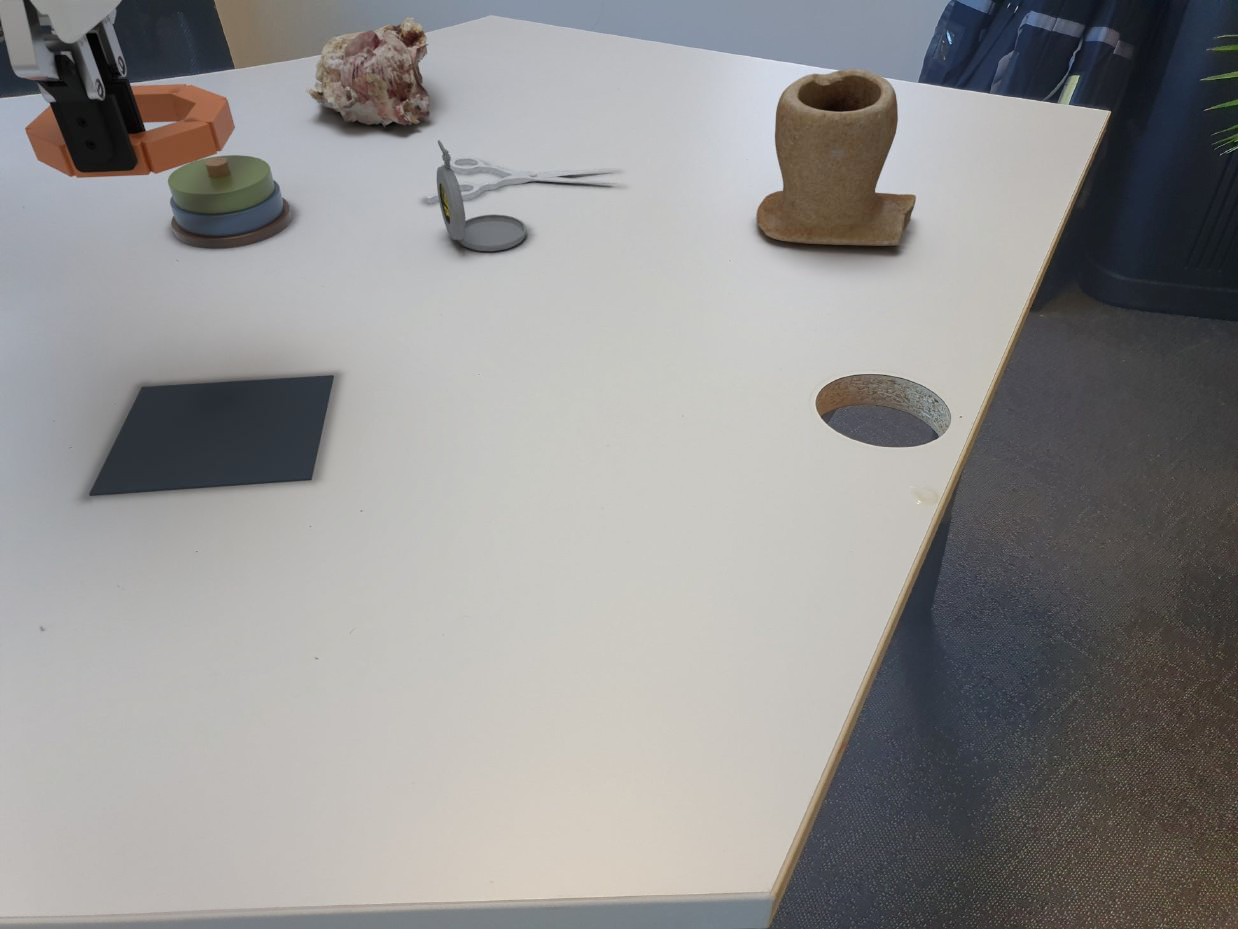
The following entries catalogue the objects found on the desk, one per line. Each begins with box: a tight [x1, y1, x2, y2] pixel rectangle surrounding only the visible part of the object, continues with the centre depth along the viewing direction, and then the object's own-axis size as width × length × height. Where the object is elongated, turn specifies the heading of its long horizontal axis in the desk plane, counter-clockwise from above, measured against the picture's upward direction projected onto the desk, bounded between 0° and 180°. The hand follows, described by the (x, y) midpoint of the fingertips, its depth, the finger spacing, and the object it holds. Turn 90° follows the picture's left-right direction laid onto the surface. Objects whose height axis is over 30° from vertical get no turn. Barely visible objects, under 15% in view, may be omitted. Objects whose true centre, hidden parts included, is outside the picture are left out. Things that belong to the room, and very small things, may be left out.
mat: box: [88, 374, 335, 497], centre depth 63 cm, size 14×12×1 cm
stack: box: [167, 154, 293, 250], centre depth 87 cm, size 11×11×6 cm
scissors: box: [426, 156, 617, 204], centre depth 96 cm, size 11×1×20 cm
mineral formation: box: [305, 17, 431, 128], centre depth 111 cm, size 23×16×10 cm
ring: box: [24, 83, 236, 179], centre depth 55 cm, size 11×11×2 cm
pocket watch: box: [436, 139, 527, 252], centre depth 83 cm, size 8×8×10 cm
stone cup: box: [755, 68, 917, 247], centre depth 82 cm, size 15×12×15 cm
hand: (114, 158), depth 52 cm, fingers closed on ring, 2 cm apart
